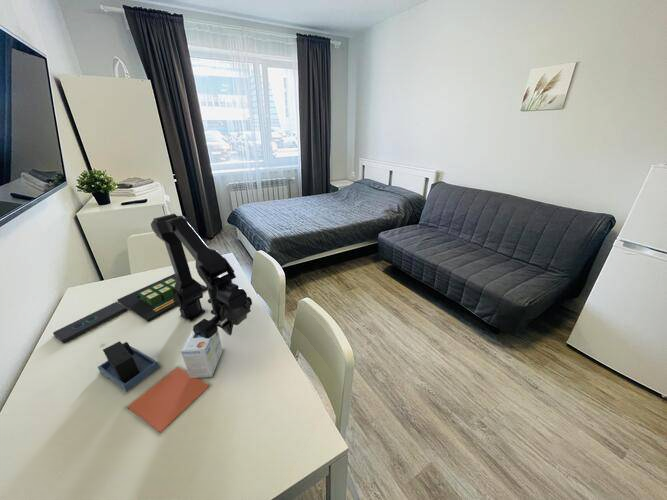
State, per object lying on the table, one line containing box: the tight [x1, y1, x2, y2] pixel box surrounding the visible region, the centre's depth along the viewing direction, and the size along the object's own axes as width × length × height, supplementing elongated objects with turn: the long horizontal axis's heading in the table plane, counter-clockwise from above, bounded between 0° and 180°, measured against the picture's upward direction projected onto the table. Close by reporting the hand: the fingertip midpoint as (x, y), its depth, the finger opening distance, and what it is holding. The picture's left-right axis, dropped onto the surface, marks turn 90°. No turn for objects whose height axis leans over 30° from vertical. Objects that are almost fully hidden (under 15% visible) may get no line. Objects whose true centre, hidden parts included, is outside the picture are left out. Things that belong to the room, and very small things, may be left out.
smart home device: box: [52, 301, 128, 344], centre depth 100 cm, size 8×2×20 cm
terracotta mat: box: [127, 367, 210, 433], centre depth 72 cm, size 14×14×1 cm
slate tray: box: [97, 345, 160, 393], centre depth 80 cm, size 9×14×2 cm, turn 62°
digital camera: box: [102, 341, 140, 383], centre depth 78 cm, size 10×5×7 cm, turn 52°
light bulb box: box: [180, 324, 223, 379], centre depth 80 cm, size 11×7×11 cm, turn 5°
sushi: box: [116, 273, 208, 322], centre depth 115 cm, size 25×25×4 cm
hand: (229, 334), depth 88 cm, fingers closed
